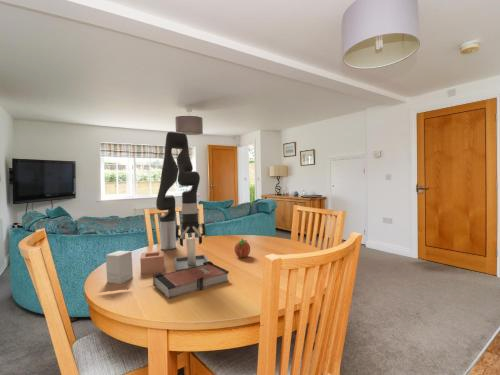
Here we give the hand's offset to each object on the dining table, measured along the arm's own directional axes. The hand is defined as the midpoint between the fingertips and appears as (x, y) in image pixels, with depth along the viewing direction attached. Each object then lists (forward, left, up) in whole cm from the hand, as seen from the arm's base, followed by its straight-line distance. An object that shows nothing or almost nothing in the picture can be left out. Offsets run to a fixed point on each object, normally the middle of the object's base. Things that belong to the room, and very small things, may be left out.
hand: (191, 245), depth 134 cm
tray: (0, 0, -11) cm, 11 cm away
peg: (0, 0, -10) cm, 10 cm away
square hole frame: (0, -18, -11) cm, 21 cm away
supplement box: (+9, -31, -11) cm, 34 cm away
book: (+22, -2, -11) cm, 25 cm away
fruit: (-6, +28, -11) cm, 31 cm away
